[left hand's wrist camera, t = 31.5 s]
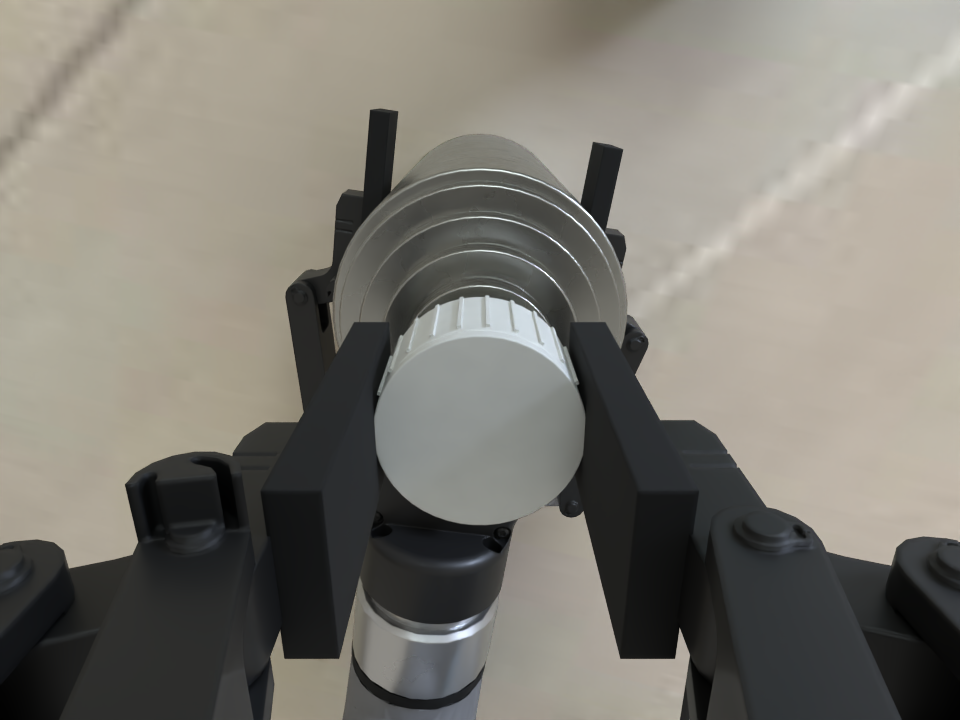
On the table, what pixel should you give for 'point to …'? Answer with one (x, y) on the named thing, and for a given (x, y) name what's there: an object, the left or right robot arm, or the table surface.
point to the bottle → (479, 245)
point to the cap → (479, 413)
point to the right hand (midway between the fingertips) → (497, 128)
